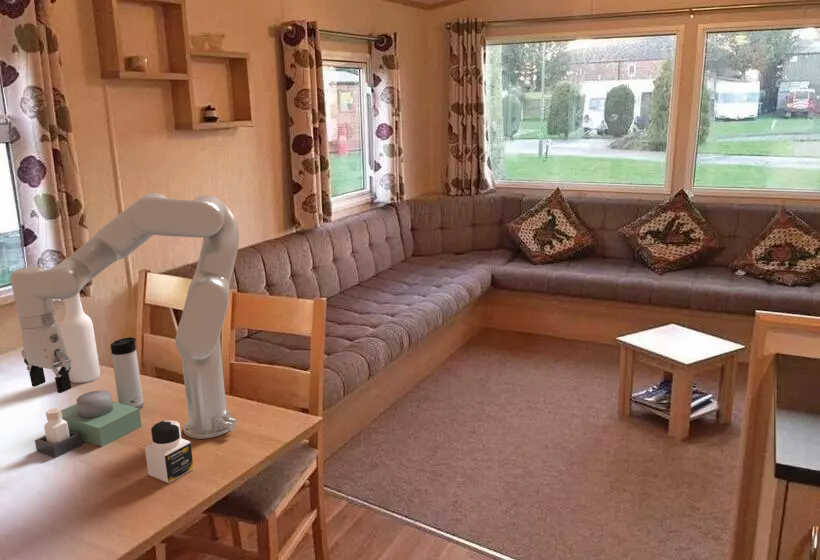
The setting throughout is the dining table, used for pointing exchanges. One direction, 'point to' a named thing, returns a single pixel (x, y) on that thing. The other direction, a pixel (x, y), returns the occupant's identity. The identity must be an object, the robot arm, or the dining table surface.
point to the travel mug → (127, 372)
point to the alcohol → (80, 342)
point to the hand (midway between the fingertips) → (51, 387)
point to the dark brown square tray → (58, 445)
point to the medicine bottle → (168, 452)
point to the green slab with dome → (101, 418)
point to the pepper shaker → (56, 426)
